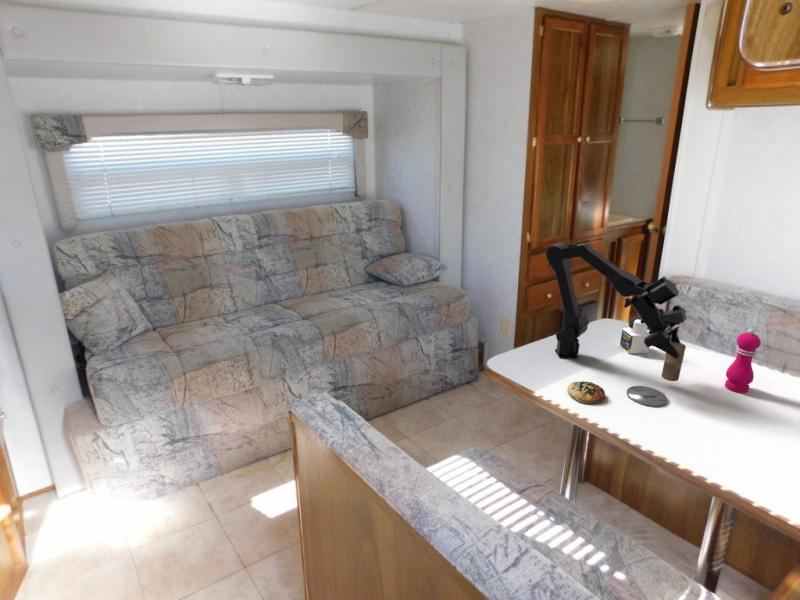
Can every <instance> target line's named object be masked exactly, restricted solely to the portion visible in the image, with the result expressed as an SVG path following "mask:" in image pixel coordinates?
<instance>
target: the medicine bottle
mask: <svg viewBox="0 0 800 600" xmlns="http://www.w3.org/2000/svg"><path fill="white" fill-rule="evenodd" d="M641 320H642V319H641V318H640V316H633V317H630V318H629V321H628V322H629V323H628V327H623V328H622V331H621V336H620V342H619V347H620V348H622V349H623V348H624V349H625V350H626V351H625V350H624V349H623V350H624V351H625V352H627V353H628V354H629V353H630V354H629V355H633V354H634V355H636V354H637V355H638V353H643V354H649V350H650V347H648V348H647V346H646V345H645V344H644V339H645V338H646V337H647V336H648V335H650V334H649V333H648V332H649V331H647V330H648V327H647V326H646V324H645V323H643V324H642V323H641V322H640V321H641Z"/></svg>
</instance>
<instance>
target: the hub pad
mask: <svg viewBox="0 0 800 600" xmlns="http://www.w3.org/2000/svg"><path fill="white" fill-rule="evenodd" d="M626 396H627V397H628V398H629V399H630V400H631V401H633V402H634V403H637V404H639V405H643V406H646V407H652V408H653V407H662V406H665V405H666V404H667V403H668V397H667V396H666V394H665V393H664V392H662V391H660V390H658V389H656V388H655V387H654V388H653V387H649V386H645V385H632V386H629V387H628V388H627V389H626Z"/></svg>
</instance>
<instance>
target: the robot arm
mask: <svg viewBox="0 0 800 600" xmlns="http://www.w3.org/2000/svg"><path fill="white" fill-rule="evenodd" d="M545 257H546V260H547V263H548V265H549V267H550V268H551V269H552V271H554V274H555V277H556V282H557V286H558V290H559V294H560V295H559V296H560V299H561V304H562V307H563V311H564V316H563V321H562V325H563V326H562V327H563V329H561V330H560V331H558V332H557V333H556V334H555V338H556V340H557V344H556V348H555V349H554V352H555V353H556V355H557V356H558V358H560V359H579V356H578V355H579V351H580V343H579V339H578V338H579V337H581V336H582V335H583V334H584V333H586V331H587V330H588V327H589V326H588V325H589V324H590V323H589V320H588V319H587V316H588V315H587V313H586V312H584V313H582V312H581V310H580V309H579V306H578V305H579V304H578V301H577V297H576V293H575V289H574V283H573V279H572V276H571V270H570V265H571V259H572V258H573V259H574V258H581V259H582V260H583V261H584V262H586V263H587V264H589V266H591V267H592V268H593V269H595V270H596V271H597V272H598V273H600V274H601V275H602V276H604V277H605V278H606V279H608V281H609V282H610V284H611V286H612V288H613V289H615V291H617V294H619V295H620V296H622V297H625V302H624V306H623V307H624V308H628V307H629V306H631V307H632V308H633V309H634V310H635V311H634V312H636V314H638V317H640V318H641V319H642V320H641V321H640V322H641V323H642V324H643V323H645V324H646V326H647V330H649V331H647V332H648V333H649V334H650V335H648V336H647V337H646V338H645V339H644V344H645V345H646V346H647V348H648V347H649V348H650V347H652V348H656V349H659V350H661V351H662V352H664V353H665V354H666V353H667V354H669V355H671V356H673V357H674V358H678V357H679V355H678V353H677V351H676V349H675V347H674V345H673V344H672V342H679V343H682V342H681V340H680V337H679V329H680V328H681V327H680V324H682V323H684V322H685V321H686V320H687V316H686V315H687V314H686V313H687V310H685V308H684V307H682V306H681V305H680V304H677V305H674V306H673V307H672V309H669V310H668V311H665V310H664V309H663V308H659V307H658V306H657V305H664V304H665V303H667V302H668V301H670V300H672V299H675V297H678V296H679V290H678V288H677V285H675V284H674V283H673V282H672V281H671V280H669V279H668V278H667V277H666V276H662V277H661V278H659V279H658V280H657V281H655V282H653V283H650V282H647V281H644V280H642V279H641V278H640V277H639V276H638V275H635V274H633V273H632V272H630V271H627V270H624V269H622V268H620V267H618V266H616V265H615V264H614V263H613V262H611V261H610V260H608V259H607V258H606V257H604V256H603V255H602V254H600V253H599V252H598V251H597V250H595V249H594V248H593V247H591V245H589V244H588V243H586V242H583V243H578V244H577V243H574V244H568V245H567V244H566V243H562V242H561V243H560V242H559V243H557V244H555V245H552V246H550V247H548V249H547V250H546V251H545ZM644 293H645V294H644ZM631 296H632V297H631ZM675 326H676V327H675Z"/></svg>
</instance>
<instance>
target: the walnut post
mask: <svg viewBox="0 0 800 600" xmlns="http://www.w3.org/2000/svg"><path fill="white" fill-rule="evenodd" d="M672 344H673V345H674V347H675V349H676V351H677V353H678V355H679V357H678V358H674V357H673V356H671V355H669V354H667V353H666V352H665V358H664V362H663V366H662V372H661V378H662V379H664V380H667V381H670V382H678V381H679V379H680V374H681V370H682V365H683V361H684V357H685V352H686V348H687V346H686V344H684V343H682V342H681V343H679V342H672Z"/></svg>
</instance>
